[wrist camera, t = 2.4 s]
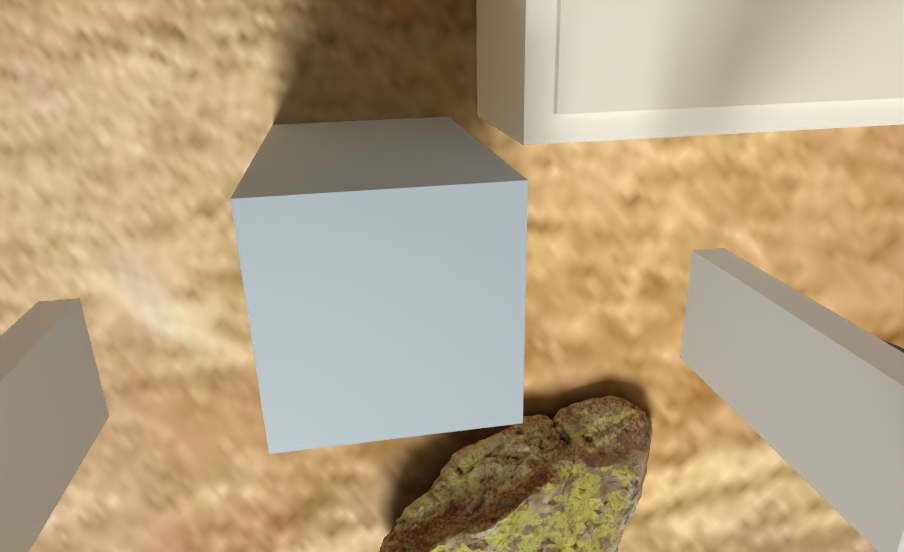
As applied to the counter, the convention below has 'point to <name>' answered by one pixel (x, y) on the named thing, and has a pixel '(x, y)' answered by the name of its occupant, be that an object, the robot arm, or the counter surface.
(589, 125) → the plinth
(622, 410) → the rock
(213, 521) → the counter surface
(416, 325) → the block
